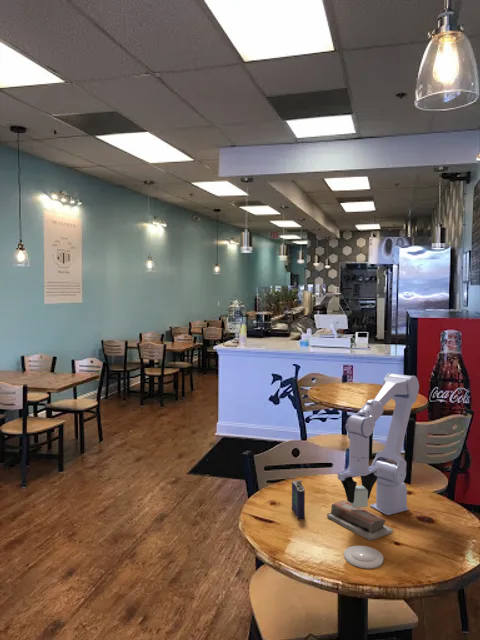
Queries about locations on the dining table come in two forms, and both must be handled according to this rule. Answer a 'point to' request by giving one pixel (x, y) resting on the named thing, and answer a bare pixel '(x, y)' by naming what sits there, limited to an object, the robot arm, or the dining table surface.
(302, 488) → the flask
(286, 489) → the dining table surface
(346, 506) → the packaged product
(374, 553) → the saucer
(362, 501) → the mint block
